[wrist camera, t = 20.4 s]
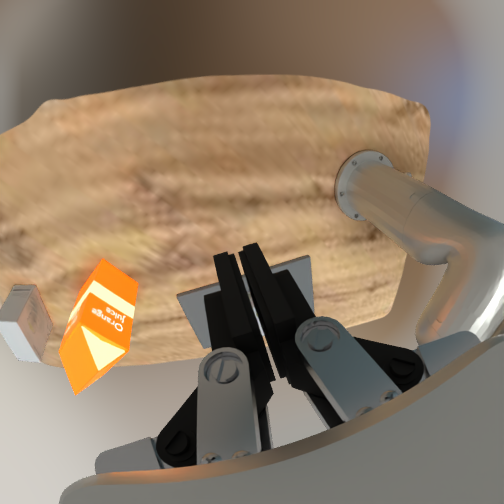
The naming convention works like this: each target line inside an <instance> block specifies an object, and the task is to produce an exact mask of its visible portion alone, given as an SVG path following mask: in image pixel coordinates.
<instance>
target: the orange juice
mask: <svg viewBox="0 0 504 504" xmlns="http://www.w3.org/2000/svg"><path fill="white" fill-rule="evenodd" d="M137 288H138V283H137V282H136V281H134V280H133V279H131V278H130V277H129V276H127V275H126V274H124V273H123V272H121V271H120V270H118V269H117V268H116V267H114V266H113V265H111V264H110V263H109V262H107V261H106V260H104V259H102V260H101V262H100V263H99V264H98V266H97V267H96V268H95V270H94V271H93V273H92V274H91V275H90V277H89V278H88V280H87V281H86V283H85V284H84V285H83V287H82V288H81V290H80V292H79V295H78V297H77V300H76V303H75V305H74V308H73V311H72V313H71V316H70V318H69V321H68V325H67V328H66V331H65V334H64V337H63V340H62V343H61V347H60V350H59V353H60V356H61V359H62V362H63V365H64V368H65V370H66V373H67V376H68V378H69V381H70V383H71V386H72V389H73V391H74V393H75V395H77V394H78V393H79V392H81V391H82V390H84V389H85V388H86V387H88V386H89V385H90V384H92V383H93V382H95V381H96V380H97V379H99V378H100V377H101V376H103V375H104V374H105V373H106V372H107V371H108V370H109V369H110V368H111V367H112V366H113V365H115V364H116V363H117V362H118V361H119V360H120V359H121V358H122V357H123V356H124V355H125V354H126V353H127V352H128V351H129V346H130V337H131V329H132V321H133V316H134V309H135V300H136V294H137Z"/></svg>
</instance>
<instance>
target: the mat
mask: <svg viewBox="0 0 504 504" xmlns="http://www.w3.org/2000/svg"><path fill="white" fill-rule="evenodd" d="M270 269H271V271H272V273H276V272H279V271H282V270H285V269H288V270H289V272H290V273H291V275H292V277H293V278H294V280H295V282H296V283H297V285H298V287H299V288H300V290H301V292H302V294H303V295H304V297H305V299H306V300H307V302H308V304H309V306H310V307H311V309H312V311H313V313H314V300H313V286H312V273H311V261H310V256H309V255H306V256H303V257H300V258H297V259H293V260H290V261H287V262H284V263H281V264H277V265H274V266H271V267H270ZM241 276H242V279H243V282H244V284H245V287H246V290H247V292H250V291H249V287H248V284H247V280H246V277H245V275H241ZM220 290H221V289H220V285H219V282H218V283H214V284H211V285H208V286H204V287H201V288H197V289H194V290H190V291H187V292H183V293H180V294H177V299H178V301H179V303H180V305H181V307H182V309H183V311H184V313H185V315H186V317H187V319H188V320H189V322H190V324H191V326H192V328H193V330H194V332H195V334H196V336H197V337H198V339H199V341H200V343H201V345H202V346H203V348H204V349H205V348H209V347H211V342H210V336H209V330H208V324H207V317H206V311H205V304H204V295H207V294H210V293H213V292H216V291H220Z"/></svg>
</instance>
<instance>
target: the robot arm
mask: <svg viewBox="0 0 504 504" xmlns="http://www.w3.org/2000/svg"><path fill="white" fill-rule="evenodd" d="M335 197H336V201H337V204H338V206H339V208H340V209H341V211H342V212H343V213H344V214H346V215H347V216H348V217H350V218H351V219H354V220H359V221H364V220H368V221H369V222H370V223H372V224H373V225H374V226H375V227H377V228H378V229H379V230H380V231H382V232H383V233H384V234H385V235H387V236H388V237H389V238H390V239H391V240H393V241H394V242H395V243H396V244H397V245H398V246H400V247H401V248H402V249H403V250H404V251H405V252H407V253H408V254H409V255H410V256H411V257H412V258H413V259H415V260H416V261H418V262H420V263H422V264H426V265H440V264H446V263H448V267H447V269H446V271H445V274H444V275H443V278H442V280H441V282H440V284H439V286H438V287H437V289H436V291H435V292H434V294H433V296H432V298H431V299H430V301H429V302H428V304H427V306H426V308H425V309H424V311H423V313H422V314H421V316H420V318H419V320H418V322H417V325H416V331H415V333H416V334H415V335H416V340H417V343H418V345H419V346H418V347H417V349H415V350H409V349H406V348H401V347H396V346H392V345H387V344H383V343H378V342H374V341H369V340H365V339H361V338H356V337H352V336H351V334H350V333H349V332H348V331H347V330H346V329H345V328H344V327H343V326H342V324H340V323H339V322H338V321H337V320H335V319H332V318H330V317H323V316H321V317H316V316H315V314H314V313H313V311H312V309H311V307H310V306H309V304H308V302H307V300H306V299H305V297H304V295H303V294H302V292H301V290H300V288H299V287H298V285H297V283H296V282H295V280H294V278H293V277H292V275H291V273H290V272H289V270H288V269H285V270H282V271H279V272H276V273H272V271H271V269H270V267H269V265H268V263H267V261H266V259H265V257H264V255H263V253H262V251H261V249H260V247H259V245H258V244H257V242H256V243H253V244H249V245H246V246H243V251H240V252H238V253H239V256H240V260H241V263H242V267H243V270H244V274H245V277H246V280H247V284H248V287H249V291H250V294H251V297H252V301H253V304H254V307H255V310H256V313H257V316H258V319H259V321H260V324H261V327H262V330H263V332H264V335H265V338H266V341H267V343H268V346H269V349H270V352H271V354H272V357H273V360H274V362H275V365H276V368H277V371H278V373H279V376H280V378H284V377H286V378H287V380H288V383H289V384H291V386H292V387H293V388H296V389H298V390H302V391H303V392H304V395H305V396H306V398H307V399H308V401H309V402H310V404H311V405H312V407H313V408H314V410H315V412H316V413H317V415H318V416H319V418H320V419H321V421H322V422H323V424H324V425H325V427H326V428H327V430H326V431H324V432H321V433H319V434H316V435H313V436H310V437H308V438H305V439H302V440H299V441H296V442H293V443H291V444H287V445H284V446H281V447H277V448H274V449H273V442H272V435H271V427H270V420H269V413H268V407H267V403H268V402H269V400H270V398H271V396H272V395H273V394H274V393H273V390H272V387H271V384H270V382H272V381H275V380H276V379H275V376H274V373H273V370H272V366H271V363H270V360H269V357H268V353H267V350H266V347H265V344H264V340H263V337H262V334H261V331H260V328H259V325H258V322H257V319H256V316H255V313H254V310H253V307H252V305H251V302H250V299H249V296H248V293H247V290H246V287H245V284H244V282H243V279H242V276H241V273H240V270H239V267H238V264H237V261H236V258H235V255H234V254H230V255H228V252H224V253H221V254H217V255H214V256H213V257H214V262H215V267H216V271H217V276H218V280H219V285H220V289H221V290H220V291H216V292H213V293H210V294H207V295H204V304H205V311H206V317H207V324H208V330H209V336H210V342H211V348H212V352H210V353H209V354H208V355H207V356H206V357H204V359H203V360H202V362H201V363H200V366H199V371H198V387H197V388H196V389H195V390H194V392H193V393H192V394H191V395H190V397H189V398H188V399H187V400H186V402H185V403H184V404H183V405H182V407H181V408H180V409H179V410H178V412H177V413H176V414H175V415H174V416H173V418H172V419H171V420H170V421H169V422H168V424H167V425H166V426H165V427H164V428H163V430H162V431H161V432H160V434H159V435H158V437H155V438H150V437H147V438H144V439H142V440H139V441H136V442H133V443H130V444H127V445H124V446H120V447H117V448H114V449H110V450H107V451H104V452H102V453H100V455H99V456H98V457H97V459H96V462H95V471H96V475H93V476H90V477H86V478H83V479H81V480H78V481H77V482H74V483H73V484H72V485H70V486H69V487H67V488H66V489H65V490H64V491H63V493H62V495H61V497H60V501H59V504H504V224H503V223H500V222H499V221H496V220H494V219H492V218H490V217H487V216H485V215H482V214H481V213H478V212H476V211H474V210H472V209H470V208H468V207H466V206H465V205H463V204H461V203H459V202H457V201H455V200H453V199H452V198H450V197H448V196H446V195H445V194H443V193H441V192H439V191H437V190H435V189H434V188H432V187H430V186H428V185H426V184H424V183H422V182H420V181H418V180H416V179H414V178H412V176H411V173H410V172H406V173H402V172H400V171H398V170H396V169H394V167H393V165H392V163H391V161H390V160H389V159H388V158H387V157H386V156H385V155H383V154H381V153H379V152H377V151H373V150H365V151H360V152H358V153H356V154H354V155H353V156H351V157H350V158H349V159H348V160H347V161H346V162H345V163H344V165H343V166H342V167H341V169H340V171H339V173H338V176H337V179H336V184H335Z"/></svg>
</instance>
